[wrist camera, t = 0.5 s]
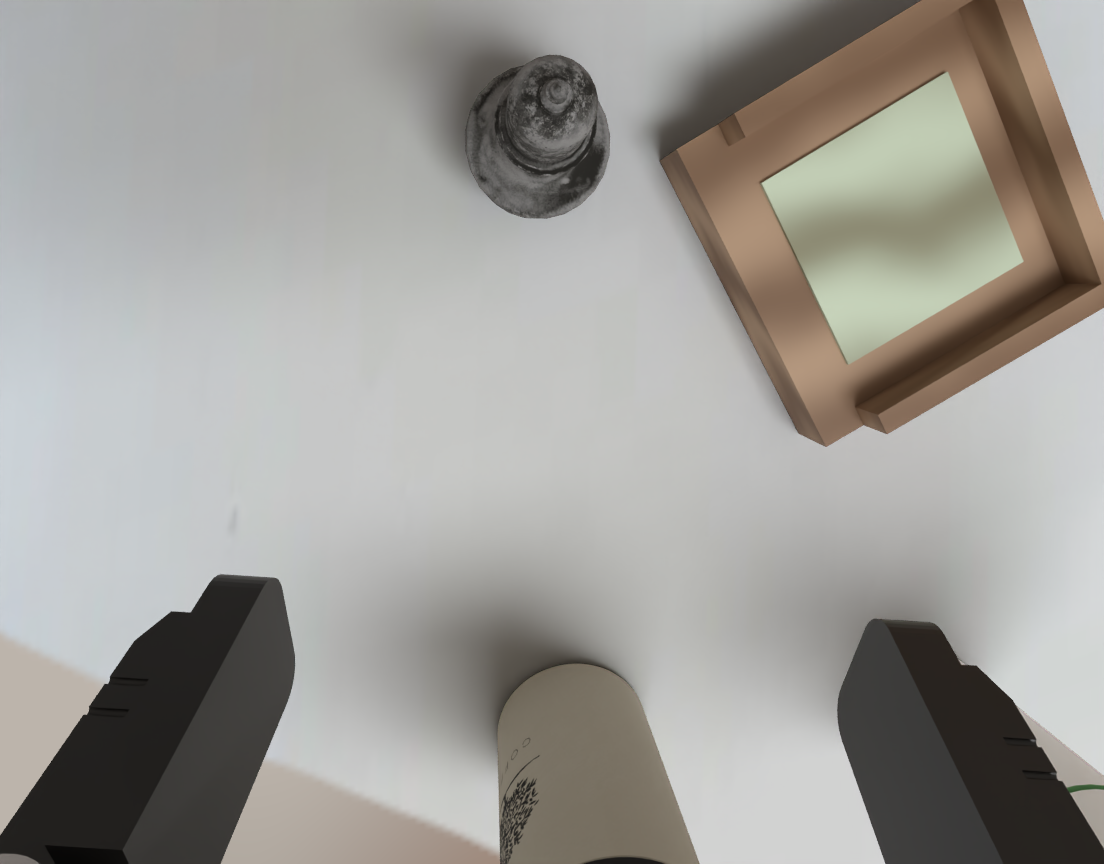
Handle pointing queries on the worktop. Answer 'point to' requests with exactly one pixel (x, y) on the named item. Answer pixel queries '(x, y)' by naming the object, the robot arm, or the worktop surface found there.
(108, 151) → the worktop surface
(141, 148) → the worktop surface
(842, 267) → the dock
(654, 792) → the travel mug
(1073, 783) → the cylindrical container
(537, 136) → the salt shaker
